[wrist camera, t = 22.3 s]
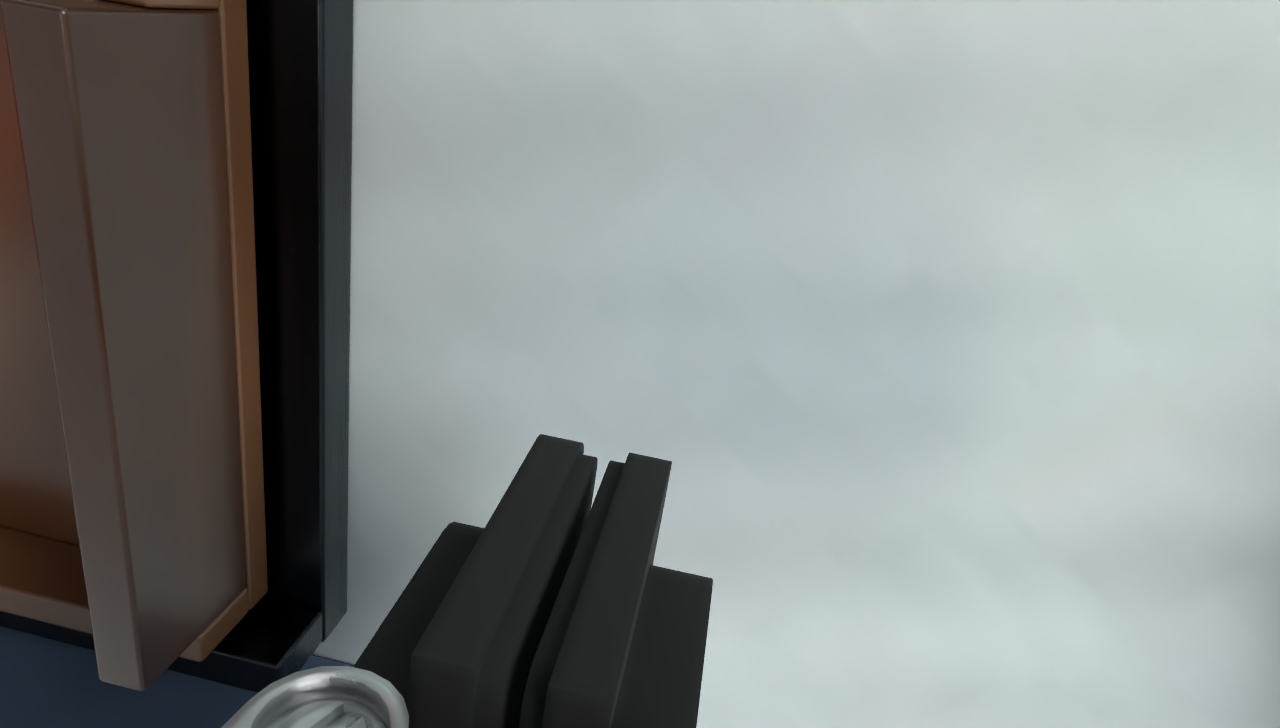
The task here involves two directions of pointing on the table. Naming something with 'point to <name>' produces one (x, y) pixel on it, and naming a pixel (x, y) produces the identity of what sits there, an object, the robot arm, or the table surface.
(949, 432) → the table surface
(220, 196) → the sliding tray
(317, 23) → the tray runner
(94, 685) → the box
